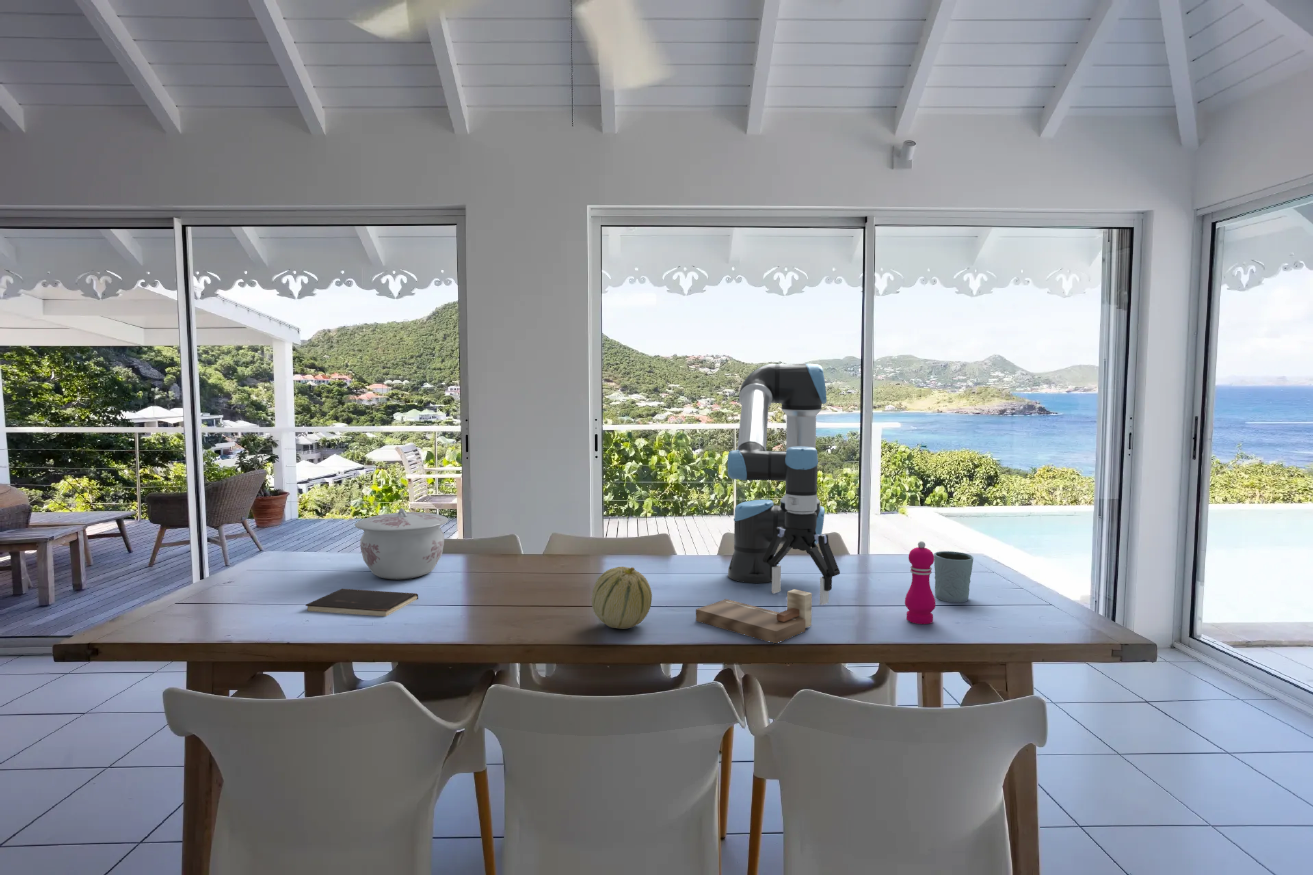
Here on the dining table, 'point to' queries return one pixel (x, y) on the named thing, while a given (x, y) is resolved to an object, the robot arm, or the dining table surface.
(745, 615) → the walnut board
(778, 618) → the marking gauge
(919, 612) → the pepper mill
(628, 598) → the cantaloupe
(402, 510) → the chamber pot
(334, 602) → the hardcover book
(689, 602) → the dining table surface
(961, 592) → the green ceramic cup
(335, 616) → the dining table surface
